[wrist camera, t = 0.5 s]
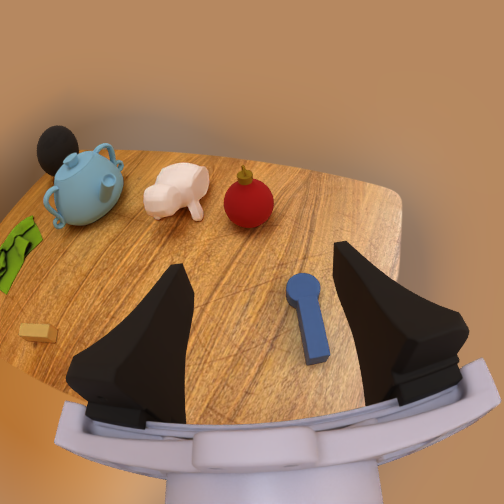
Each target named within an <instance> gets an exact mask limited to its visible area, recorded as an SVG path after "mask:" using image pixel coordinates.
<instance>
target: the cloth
mask: <svg viewBox="0 0 504 504" xmlns="http://www.w3.org/2000/svg"><path fill="white" fill-rule="evenodd" d="M42 240H43V239H42V236H41V234H40V232H39V229H38V228H37V226H36V224H35V223H34V221H33V216H30V217H27V218H26V219H24V220H23V221H21V222H20V223H19V224H18V225H17V226H16V227H15V228H14V229H13V230H12V231H11V233H10V234H9V235H8V237H7V239H6V240H5V241H4V243H3V244H2V245H1V247H0V290H1V291H3V292H4V293H5V294H7V293H8V291H9V289H10V287H11V285H12V283H13V281H14V279H15V277H16V275H17V274H18V272H19V270H20V268H21V266H22V264H23V262H24V257H26V256H27V255H28V254H29V252H30V251H32V250H33V249H34V248H35V247H36V246H37V245H38V244H39V243H40V242H41V241H42Z"/></svg>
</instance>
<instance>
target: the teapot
mask: <svg viewBox="0 0 504 504" xmlns="http://www.w3.org/2000/svg"><path fill="white" fill-rule="evenodd" d="M103 148H107V150H108V152H109V156H110V160H108V159H107V158H105V157H103V156H101V155H99V154H98V152H99V151H100V150H101V149H103ZM63 163H64V164H63V165H62V166H61V167H60V169H59V170H58V171H57V173H56V175H55V179H54V186H53V187H51V188H50V189H48V191H47V192H46V194H45V196H44V200H43V202H44V206H45V208H46V209H47V210H48V211H49V212H50V213H51V214H53V215H54V216H56V218H55V219H54V220H53V225H54V227H55V228H56V229H62V228H63V227H64V226H65V224H66V223H67V224H70V225H87V224H90V223H93V222H95V221H96V220H98V219H100V218H101V217H103V216H104V215H105V214H106V213H108V212H109V211H110V210H111V209H112V207H113V206H114V205H115V204H116V202H117V201H118V199H119V197H120V194H121V192H122V188H123V176H122V174H121V171H122V169H123V167H124V165H123V162H122V161H120V160H117V161H116V158H115V152H114V149H113V147H112V146H111V145H110V144H107V143H104V144H100V145H98V146H97V147H96V148H95V149H94V150H93V151H85V152H82V153H80V154H78V155H77V153H72V154H70V155H69V156H67V157H66V158H65V159H64V161H63ZM117 164H119V166H118V168H117ZM52 193H54V200H55V205H56V208H57V211H58V212H57V211H55V210H54V209H53V208H52V207H51V206H50V205H49V202H48V200H49V197H50V196H51V194H52ZM59 219H60V223H59V224H57V221H58V220H59Z"/></svg>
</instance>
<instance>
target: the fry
mask: <svg viewBox="0 0 504 504" xmlns="http://www.w3.org/2000/svg"><path fill="white" fill-rule="evenodd" d="M57 333H58V330H57V329H56V328H54V327H53V326H52V325H50V324H23V323H21V325H20V330H19V334H18V335H19V336H20V337H22V338H23V339H25V340H26V341H36V342H49V343H56V339H57Z"/></svg>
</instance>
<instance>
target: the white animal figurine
mask: <svg viewBox="0 0 504 504" xmlns="http://www.w3.org/2000/svg"><path fill="white" fill-rule="evenodd" d="M208 186H209V174H208V170H207V169H206V167H204V166H198V165H195V164H191V163H177V164H173V165H170V166H168V167H166V168H162V170H161V172H160V174H159V175H158V176H157V180H156V182H155V185H153V186H150V187H148V188H147V189H146V190H145V192H144V206H145V210H146V212H147V214H148V215H150V216H153V217H154V219H157V220H160V219H161V218H162V217H167V216H171V215H173V214H174V213H175V212H176V211H177V210H179V208H183V207H186V206H188V208H189V210H190V212H191V214H192V218H193V220H195V221H201V220H202V218H203V210H202V207H201V205H200V203H199V200H200V199H201V198H202V197H203V196H204V195H205V194H206V193H207V189H208Z"/></svg>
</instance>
